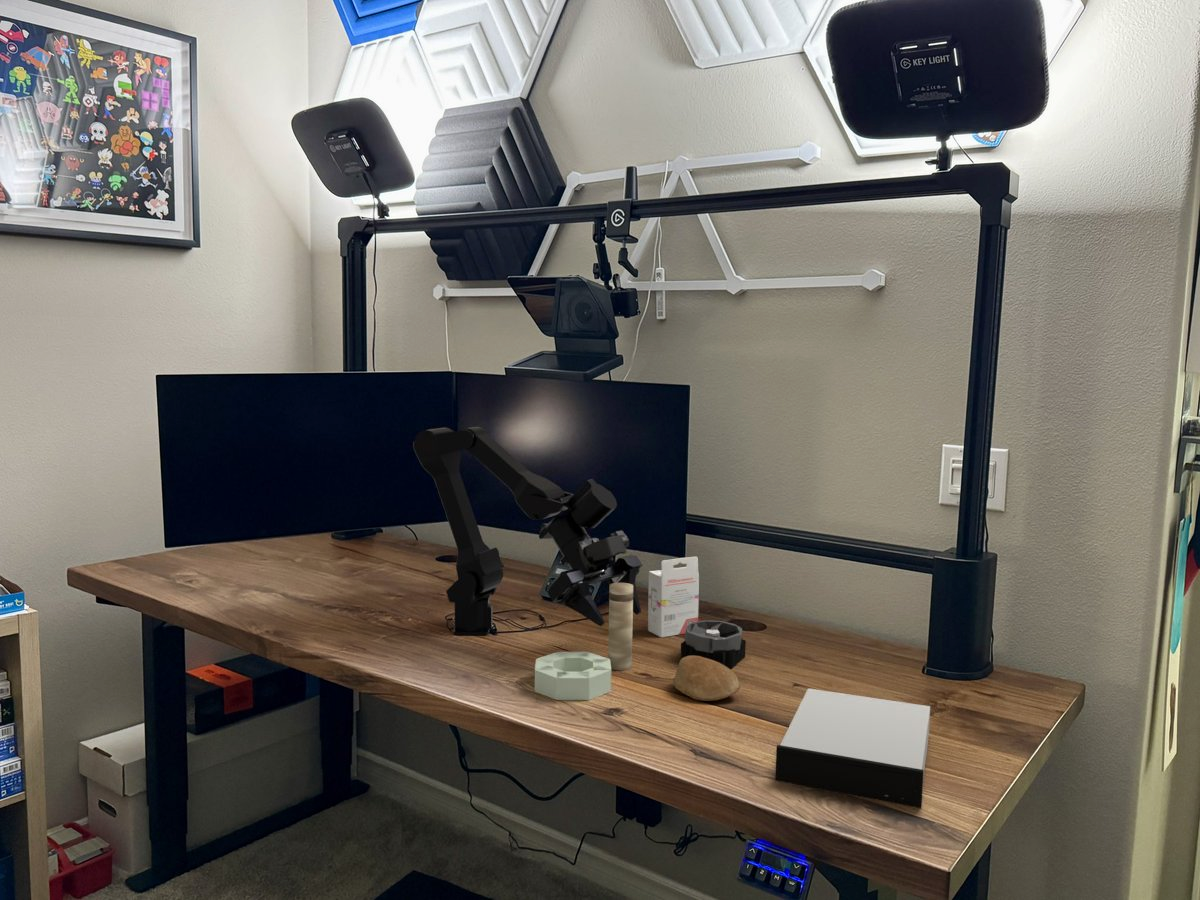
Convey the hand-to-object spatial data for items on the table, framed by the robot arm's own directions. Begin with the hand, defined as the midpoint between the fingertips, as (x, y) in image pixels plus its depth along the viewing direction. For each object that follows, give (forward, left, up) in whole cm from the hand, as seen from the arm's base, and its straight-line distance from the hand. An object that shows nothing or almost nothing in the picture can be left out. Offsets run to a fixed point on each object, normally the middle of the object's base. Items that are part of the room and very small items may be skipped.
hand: (621, 618), depth 158 cm
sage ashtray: (-8, -9, -8) cm, 15 cm away
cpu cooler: (+16, +4, -9) cm, 19 cm away
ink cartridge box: (+11, +19, -8) cm, 23 cm away
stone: (+13, -12, -9) cm, 20 cm away
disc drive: (+30, -34, -9) cm, 47 cm away
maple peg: (0, 0, -8) cm, 8 cm away
